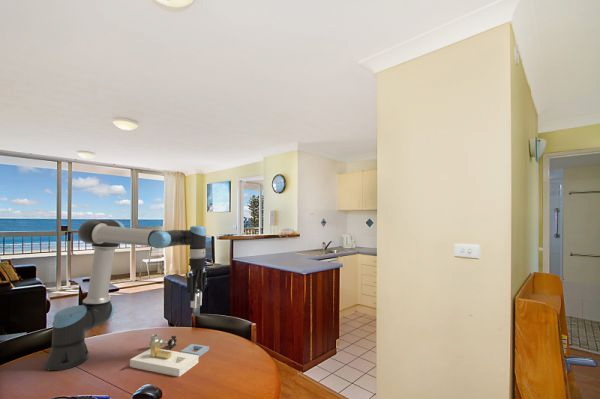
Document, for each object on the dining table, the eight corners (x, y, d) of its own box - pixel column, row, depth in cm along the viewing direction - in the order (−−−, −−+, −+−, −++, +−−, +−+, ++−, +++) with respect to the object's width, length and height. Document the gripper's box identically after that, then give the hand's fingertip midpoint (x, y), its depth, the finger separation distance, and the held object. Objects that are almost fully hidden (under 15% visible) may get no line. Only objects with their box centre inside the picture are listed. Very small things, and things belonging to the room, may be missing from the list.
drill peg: (190, 315, 134) (191, 289, 135) (195, 313, 138) (196, 288, 139) (196, 316, 133) (197, 290, 134) (201, 314, 137) (201, 288, 138)
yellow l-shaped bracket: (150, 356, 123) (150, 345, 124) (155, 353, 126) (156, 342, 127) (166, 359, 121) (167, 347, 121) (172, 355, 124) (172, 344, 124)
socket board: (129, 369, 121) (130, 359, 121) (151, 356, 132) (152, 347, 132) (179, 379, 113) (179, 368, 113) (198, 364, 124) (198, 355, 125)
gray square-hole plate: (180, 356, 132) (180, 350, 132) (191, 349, 140) (192, 343, 140) (198, 359, 129) (198, 353, 129) (208, 351, 137) (209, 346, 137)
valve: (146, 352, 137) (169, 352, 136) (146, 338, 137) (170, 338, 136) (153, 346, 143) (176, 346, 143) (154, 332, 144) (177, 333, 143)
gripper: (192, 259, 129) (191, 312, 127) (213, 255, 144) (212, 302, 142) (179, 259, 131) (177, 310, 129) (201, 255, 147) (200, 301, 145)
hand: (196, 306), depth 136 cm, fingers closed on drill peg, 3 cm apart
